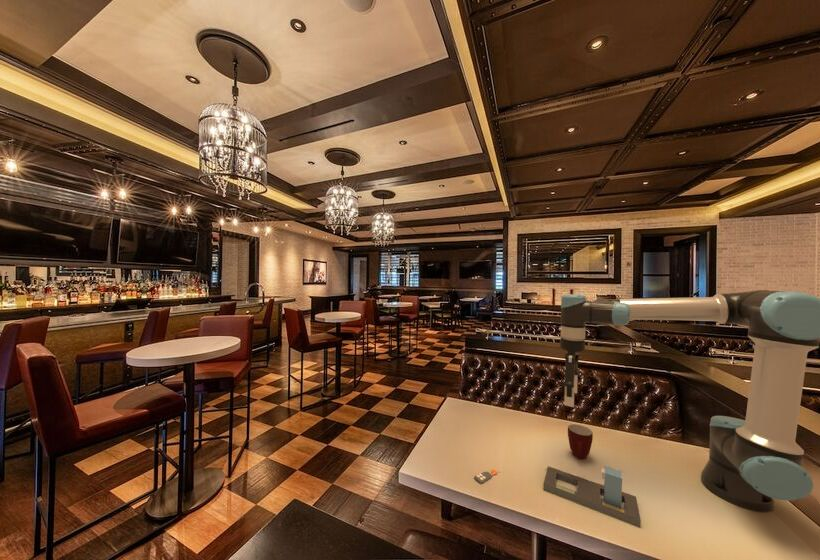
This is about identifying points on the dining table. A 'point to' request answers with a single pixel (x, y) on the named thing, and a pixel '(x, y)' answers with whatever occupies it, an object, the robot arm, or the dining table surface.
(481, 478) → the key chain
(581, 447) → the mug
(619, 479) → the plug
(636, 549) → the dining table surface
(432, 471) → the dining table surface
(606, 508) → the panel
